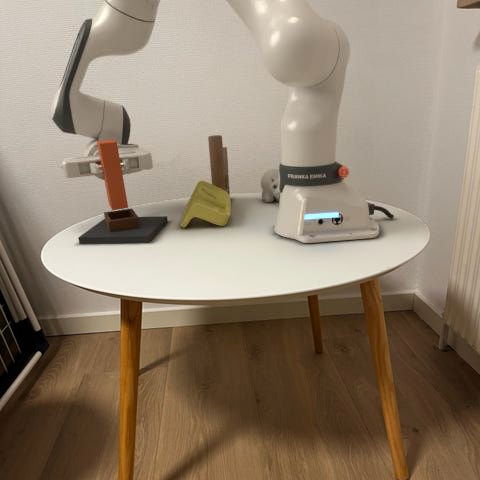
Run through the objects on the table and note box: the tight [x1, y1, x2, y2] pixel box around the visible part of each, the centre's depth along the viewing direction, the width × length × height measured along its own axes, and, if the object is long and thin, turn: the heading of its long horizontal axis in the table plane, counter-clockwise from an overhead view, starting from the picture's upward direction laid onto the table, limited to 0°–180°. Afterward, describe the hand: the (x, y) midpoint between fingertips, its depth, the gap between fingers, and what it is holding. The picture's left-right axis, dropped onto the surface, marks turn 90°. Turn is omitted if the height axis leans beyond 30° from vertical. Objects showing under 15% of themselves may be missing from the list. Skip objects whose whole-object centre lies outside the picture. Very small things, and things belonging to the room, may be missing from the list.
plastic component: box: [179, 180, 232, 228], centre depth 108 cm, size 20×7×10 cm
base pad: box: [77, 207, 169, 245], centre depth 100 cm, size 16×16×4 cm
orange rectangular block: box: [97, 140, 129, 211], centre depth 96 cm, size 6×4×14 cm, turn 22°
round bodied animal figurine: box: [260, 168, 280, 203], centre depth 117 cm, size 7×12×8 cm, turn 5°
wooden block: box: [207, 134, 231, 196], centre depth 117 cm, size 4×11×18 cm, turn 175°
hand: (112, 168), depth 95 cm, fingers closed on orange rectangular block, 3 cm apart
